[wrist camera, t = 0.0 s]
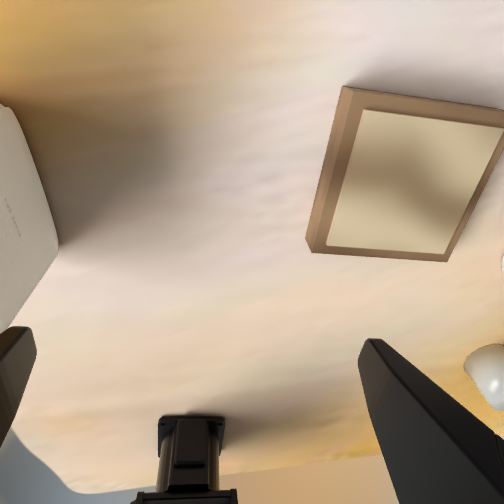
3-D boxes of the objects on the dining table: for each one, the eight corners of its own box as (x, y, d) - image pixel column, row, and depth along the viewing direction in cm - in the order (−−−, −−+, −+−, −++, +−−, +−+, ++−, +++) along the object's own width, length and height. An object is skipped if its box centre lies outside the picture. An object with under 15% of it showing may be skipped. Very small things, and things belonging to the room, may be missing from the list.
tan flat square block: (432, 247, 27) (449, 264, 25) (305, 238, 25) (312, 255, 23) (496, 108, 22) (524, 115, 20) (342, 86, 20) (355, 91, 18)
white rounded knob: (502, 371, 36) (532, 406, 32) (459, 377, 36) (485, 413, 32) (513, 340, 33) (547, 375, 30) (468, 347, 33) (496, 383, 30)
